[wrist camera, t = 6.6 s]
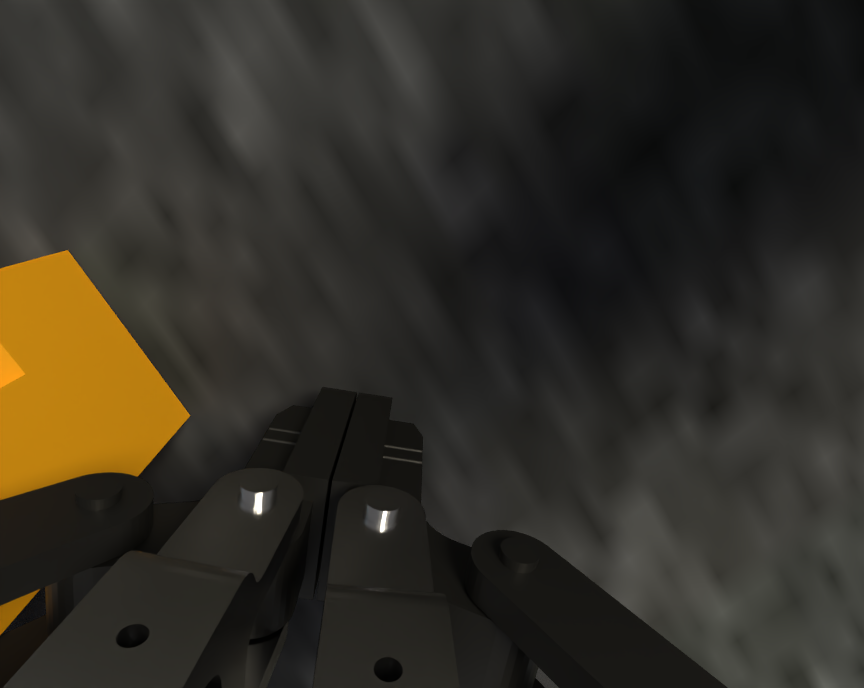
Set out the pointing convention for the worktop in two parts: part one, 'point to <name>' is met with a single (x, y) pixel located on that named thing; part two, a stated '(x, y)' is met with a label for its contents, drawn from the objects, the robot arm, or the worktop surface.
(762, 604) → the worktop surface
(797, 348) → the worktop surface
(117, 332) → the pipe clamp
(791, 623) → the worktop surface
